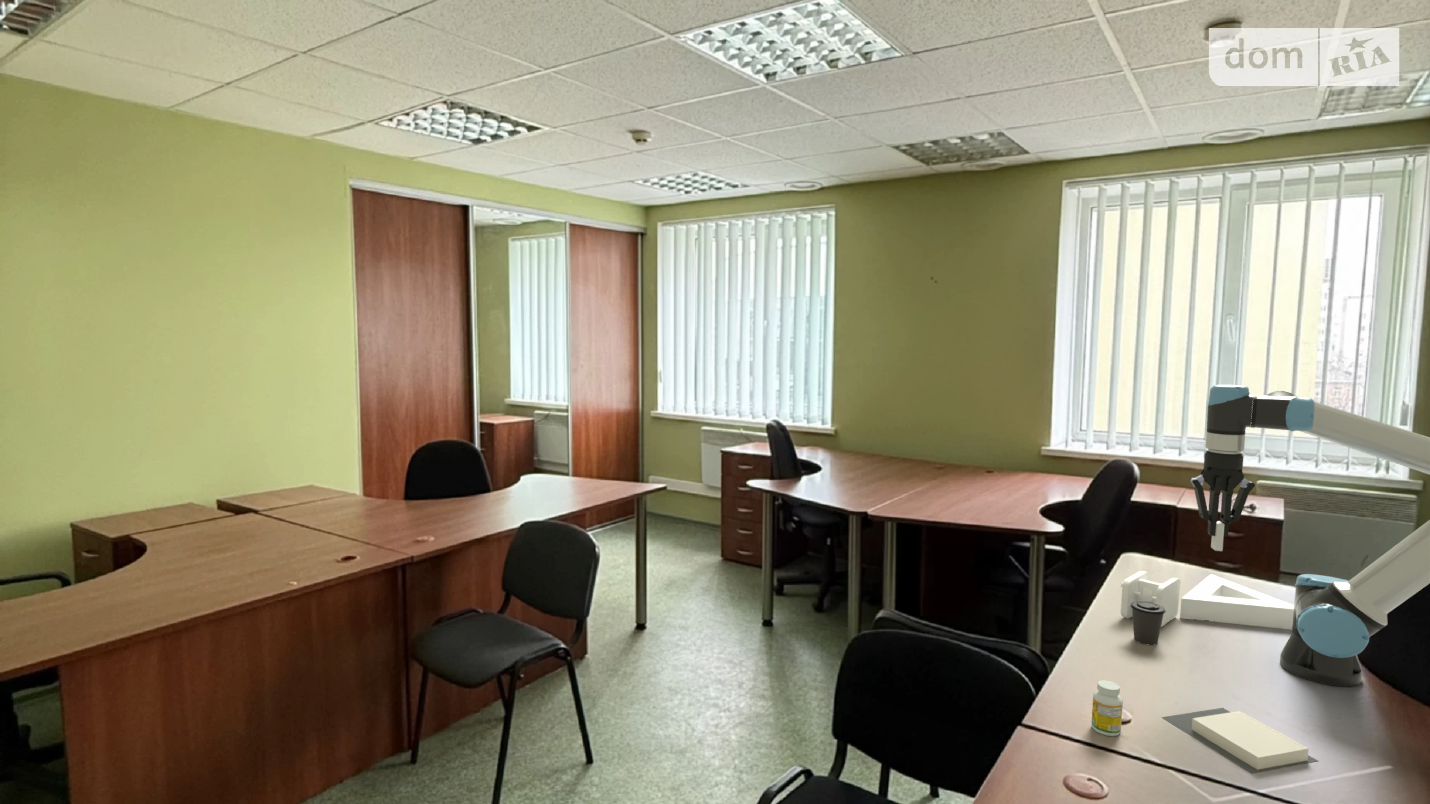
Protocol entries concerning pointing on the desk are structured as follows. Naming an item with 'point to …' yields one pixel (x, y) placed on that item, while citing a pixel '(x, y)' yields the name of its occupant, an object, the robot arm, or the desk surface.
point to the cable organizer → (1150, 594)
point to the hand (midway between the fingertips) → (1216, 549)
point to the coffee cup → (1147, 621)
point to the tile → (1250, 740)
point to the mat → (1186, 725)
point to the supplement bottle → (1107, 709)
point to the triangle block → (1235, 605)
